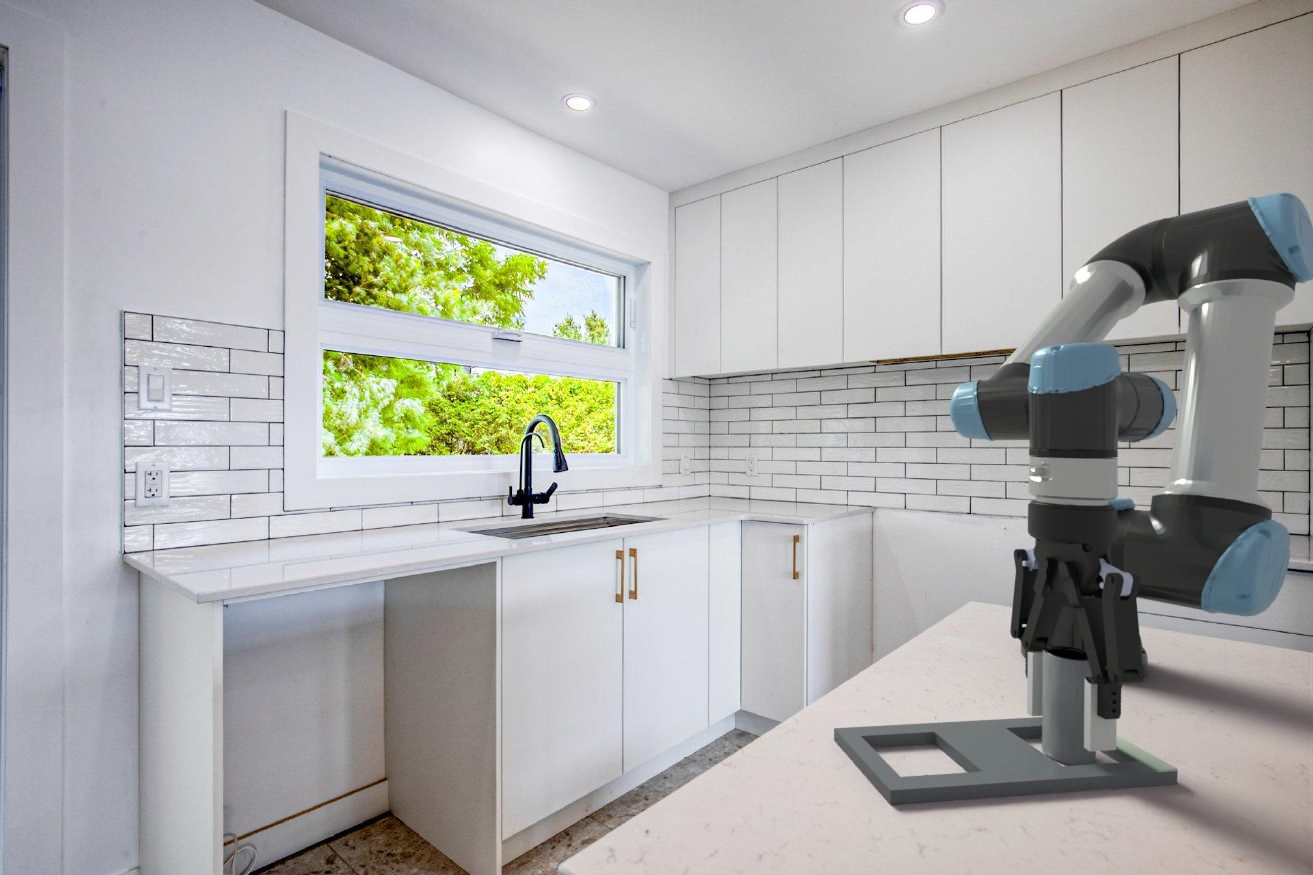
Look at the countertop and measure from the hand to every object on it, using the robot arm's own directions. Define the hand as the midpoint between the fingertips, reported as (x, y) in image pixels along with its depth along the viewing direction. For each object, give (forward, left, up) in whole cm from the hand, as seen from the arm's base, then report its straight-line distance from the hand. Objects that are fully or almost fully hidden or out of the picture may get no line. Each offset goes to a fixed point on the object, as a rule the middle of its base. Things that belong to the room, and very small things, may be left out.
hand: (1068, 730), depth 65 cm
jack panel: (+8, 0, -3) cm, 8 cm away
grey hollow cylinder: (0, 0, -3) cm, 3 cm away
